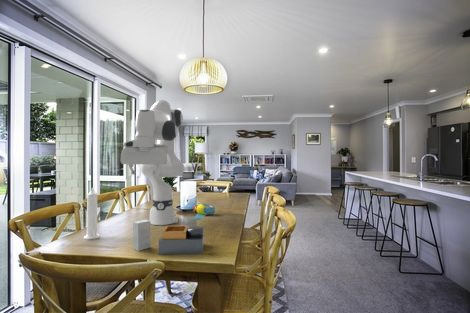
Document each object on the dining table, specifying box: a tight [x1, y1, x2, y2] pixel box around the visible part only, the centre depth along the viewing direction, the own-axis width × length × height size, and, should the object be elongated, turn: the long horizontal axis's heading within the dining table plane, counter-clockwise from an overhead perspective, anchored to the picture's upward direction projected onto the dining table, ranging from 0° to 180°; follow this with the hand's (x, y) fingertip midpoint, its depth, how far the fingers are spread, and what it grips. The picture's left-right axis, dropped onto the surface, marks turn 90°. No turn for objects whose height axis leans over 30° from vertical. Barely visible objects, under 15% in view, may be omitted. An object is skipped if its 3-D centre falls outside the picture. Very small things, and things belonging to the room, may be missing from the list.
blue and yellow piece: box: [192, 202, 216, 221], centre depth 180 cm, size 28×9×15 cm
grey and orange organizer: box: [158, 225, 205, 256], centre depth 112 cm, size 12×18×9 cm, turn 95°
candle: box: [83, 187, 101, 241], centre depth 127 cm, size 7×7×25 cm
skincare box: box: [132, 219, 151, 252], centre depth 113 cm, size 6×4×12 cm
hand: (144, 174), depth 115 cm, fingers open, 8 cm apart
